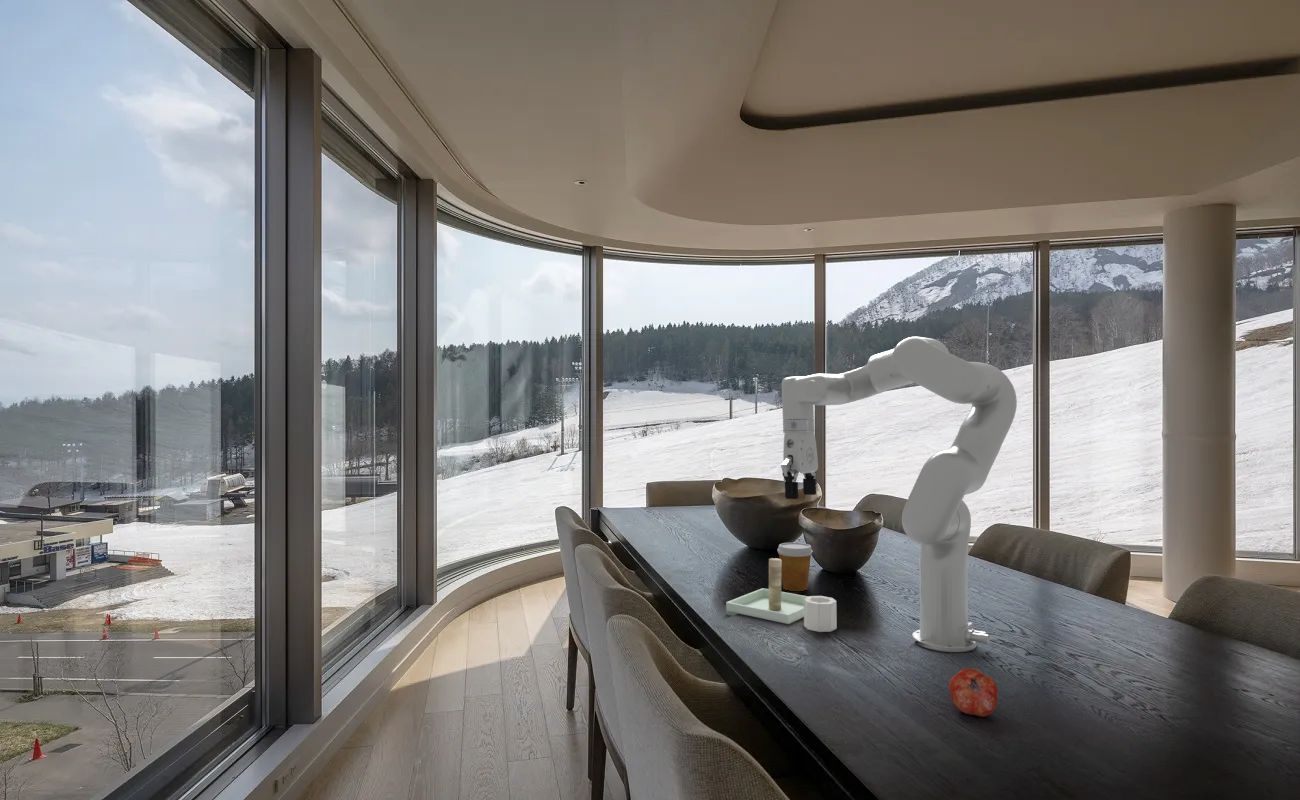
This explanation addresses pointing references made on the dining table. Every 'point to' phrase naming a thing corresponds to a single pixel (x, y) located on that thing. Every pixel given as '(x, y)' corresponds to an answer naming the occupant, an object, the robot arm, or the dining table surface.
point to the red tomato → (973, 692)
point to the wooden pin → (775, 584)
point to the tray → (759, 606)
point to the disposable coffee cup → (795, 565)
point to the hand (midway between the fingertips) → (801, 496)
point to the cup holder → (820, 613)
